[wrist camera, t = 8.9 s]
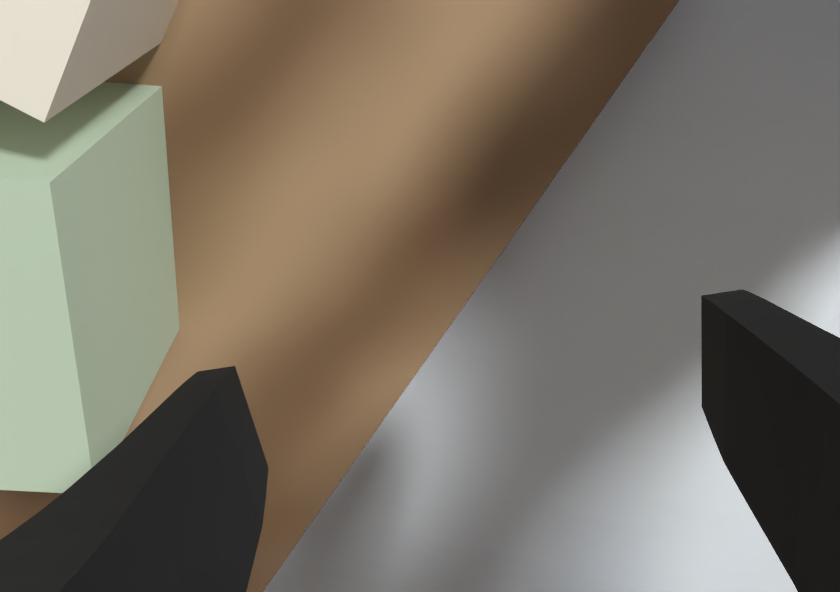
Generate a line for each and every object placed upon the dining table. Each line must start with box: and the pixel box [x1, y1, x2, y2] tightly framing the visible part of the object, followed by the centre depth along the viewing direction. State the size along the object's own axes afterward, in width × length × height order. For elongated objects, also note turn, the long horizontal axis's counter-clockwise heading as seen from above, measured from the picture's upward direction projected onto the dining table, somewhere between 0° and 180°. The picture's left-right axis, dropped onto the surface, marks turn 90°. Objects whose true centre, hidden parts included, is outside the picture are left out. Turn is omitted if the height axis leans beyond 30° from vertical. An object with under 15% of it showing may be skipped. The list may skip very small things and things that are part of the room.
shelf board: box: [0, 0, 679, 592], centre depth 20 cm, size 16×24×4 cm
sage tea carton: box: [0, 82, 180, 493], centre depth 17 cm, size 4×6×6 cm, turn 176°
